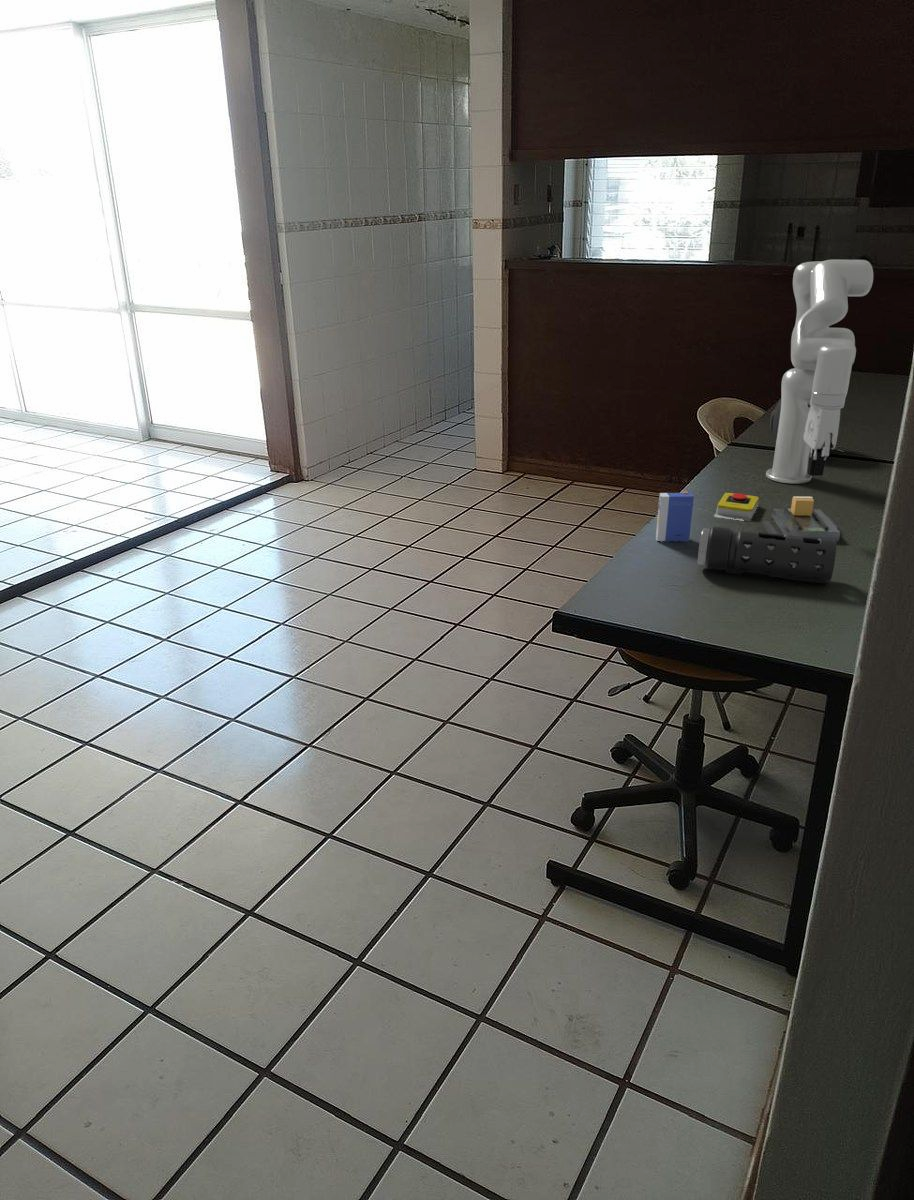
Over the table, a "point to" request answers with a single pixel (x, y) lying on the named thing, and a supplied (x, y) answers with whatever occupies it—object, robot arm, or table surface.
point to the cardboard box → (802, 505)
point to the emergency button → (736, 506)
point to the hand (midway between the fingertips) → (814, 474)
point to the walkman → (674, 517)
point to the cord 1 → (769, 527)
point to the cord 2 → (832, 522)
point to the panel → (806, 524)
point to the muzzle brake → (767, 554)
